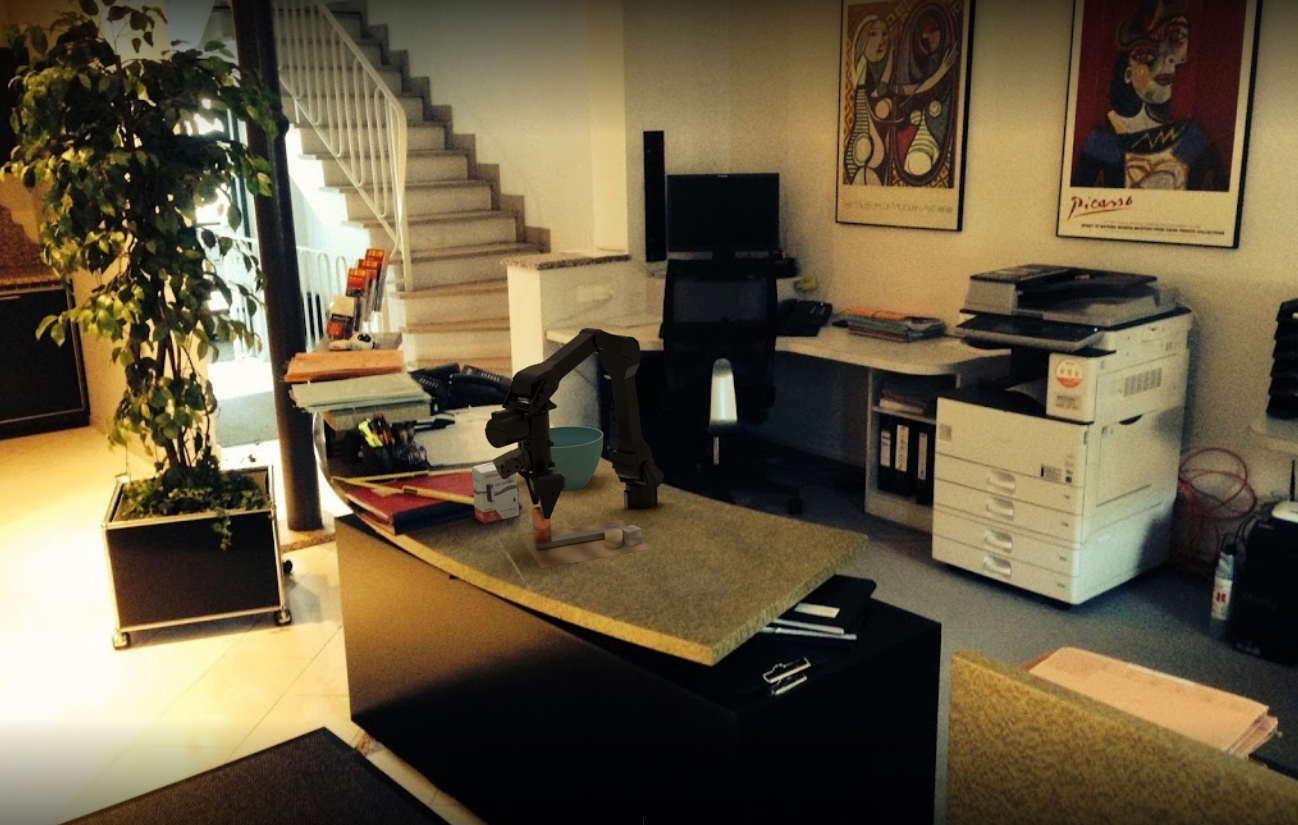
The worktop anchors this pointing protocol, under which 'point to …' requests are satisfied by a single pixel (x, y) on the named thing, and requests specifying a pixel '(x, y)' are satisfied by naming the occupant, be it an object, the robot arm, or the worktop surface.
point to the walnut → (613, 538)
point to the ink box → (493, 494)
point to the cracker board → (586, 545)
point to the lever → (546, 540)
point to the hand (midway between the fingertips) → (541, 511)
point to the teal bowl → (576, 454)
